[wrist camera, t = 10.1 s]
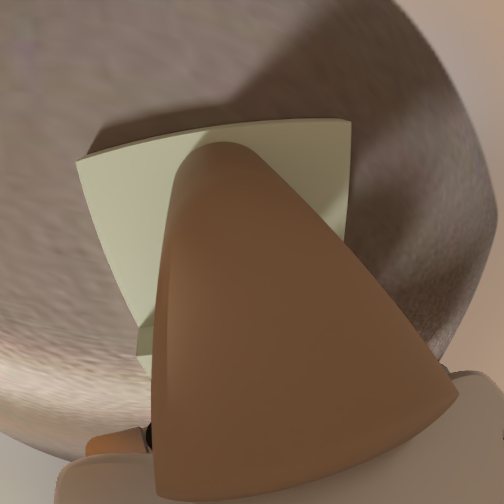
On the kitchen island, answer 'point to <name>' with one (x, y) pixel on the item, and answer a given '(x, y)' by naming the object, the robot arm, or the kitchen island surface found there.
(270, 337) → the tan cylinder on base
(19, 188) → the kitchen island surface
